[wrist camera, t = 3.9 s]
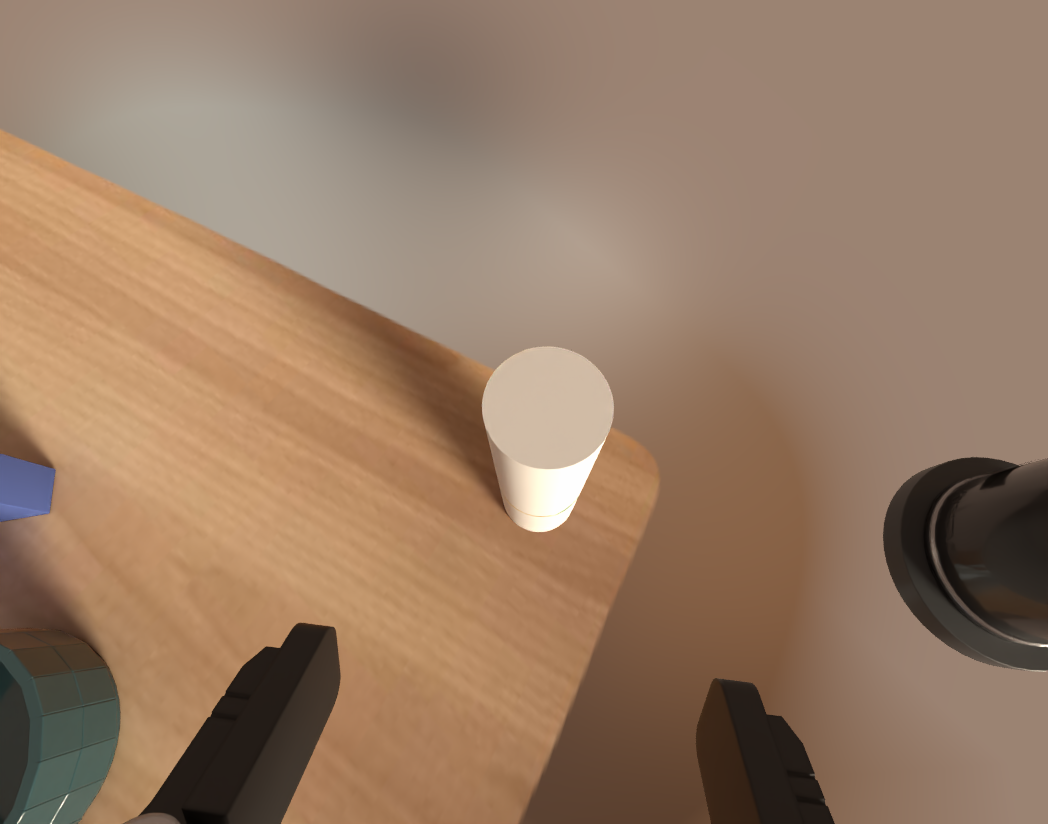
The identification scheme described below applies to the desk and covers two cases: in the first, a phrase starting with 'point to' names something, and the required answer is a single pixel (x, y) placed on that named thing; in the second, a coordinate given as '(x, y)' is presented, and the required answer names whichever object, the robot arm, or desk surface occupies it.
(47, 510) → the walkman
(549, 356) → the tube
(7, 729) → the bowl
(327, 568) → the desk surface
